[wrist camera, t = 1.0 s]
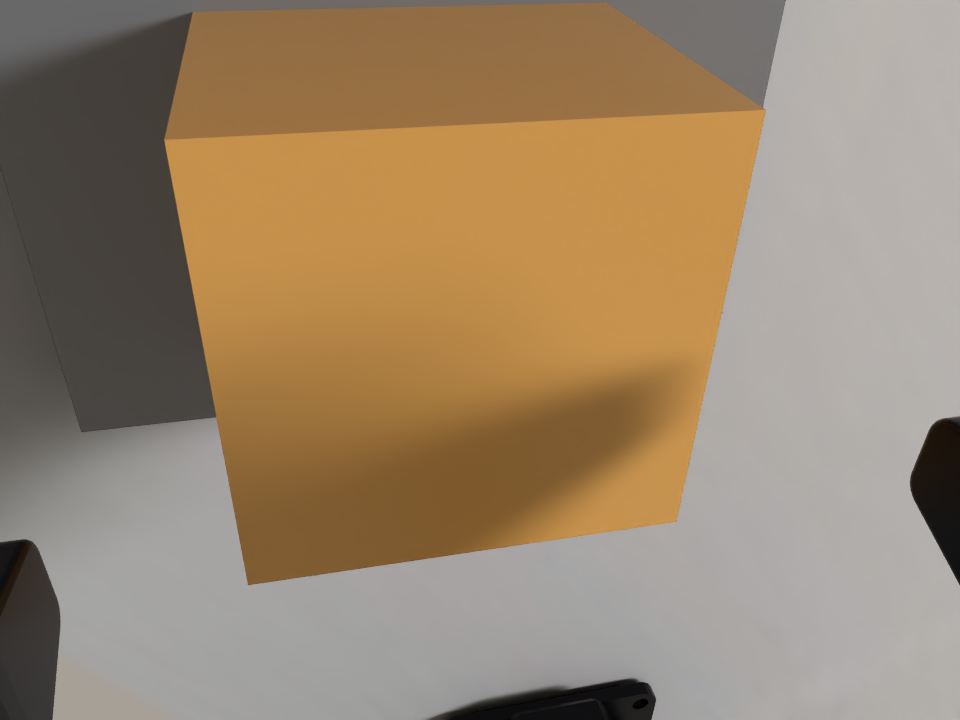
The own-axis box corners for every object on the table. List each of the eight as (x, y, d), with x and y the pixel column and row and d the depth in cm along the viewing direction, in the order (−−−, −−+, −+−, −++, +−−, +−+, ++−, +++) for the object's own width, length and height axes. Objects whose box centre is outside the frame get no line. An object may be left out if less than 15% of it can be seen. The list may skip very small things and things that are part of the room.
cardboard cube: (571, 335, 16) (676, 521, 12) (248, 368, 15) (247, 585, 11) (605, 2, 13) (766, 110, 9) (192, 11, 12) (164, 139, 8)
